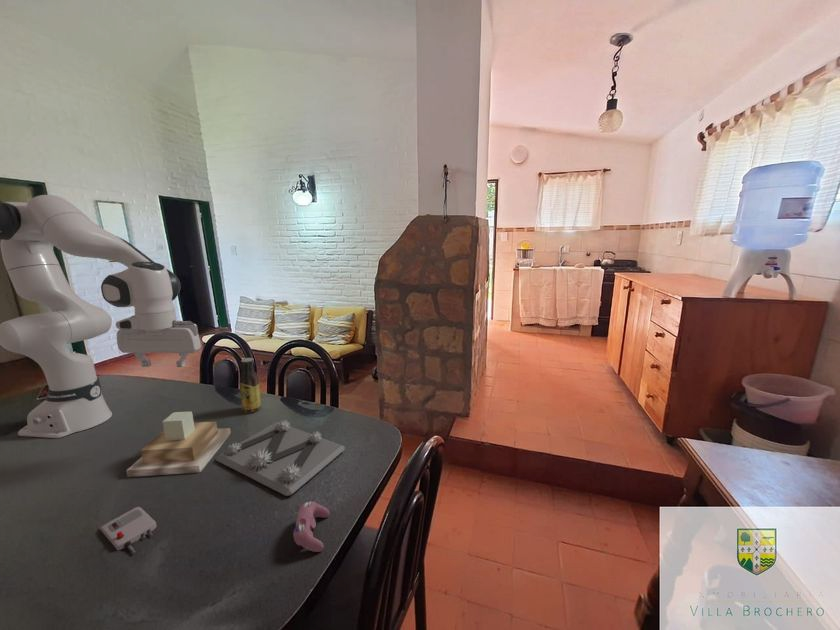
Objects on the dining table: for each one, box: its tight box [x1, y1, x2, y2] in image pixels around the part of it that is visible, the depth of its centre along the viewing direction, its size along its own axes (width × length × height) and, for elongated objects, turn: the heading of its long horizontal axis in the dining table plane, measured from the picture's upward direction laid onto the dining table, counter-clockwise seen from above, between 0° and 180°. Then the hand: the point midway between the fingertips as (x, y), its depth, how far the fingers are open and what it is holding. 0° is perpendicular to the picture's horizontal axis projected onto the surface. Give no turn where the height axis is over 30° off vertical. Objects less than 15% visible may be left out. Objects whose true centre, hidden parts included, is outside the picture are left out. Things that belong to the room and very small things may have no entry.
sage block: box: [161, 411, 195, 441], centre depth 93 cm, size 5×5×6 cm
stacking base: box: [125, 421, 231, 478], centre depth 94 cm, size 18×18×6 cm
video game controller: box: [292, 500, 331, 553], centre depth 69 cm, size 10×5×7 cm, turn 7°
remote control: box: [99, 506, 157, 554], centre depth 70 cm, size 7×16×3 cm, turn 60°
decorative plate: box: [216, 419, 346, 497], centre depth 94 cm, size 30×22×7 cm
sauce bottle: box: [238, 357, 262, 414], centre depth 117 cm, size 6×6×20 cm
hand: (164, 366), depth 94 cm, fingers open, 8 cm apart
